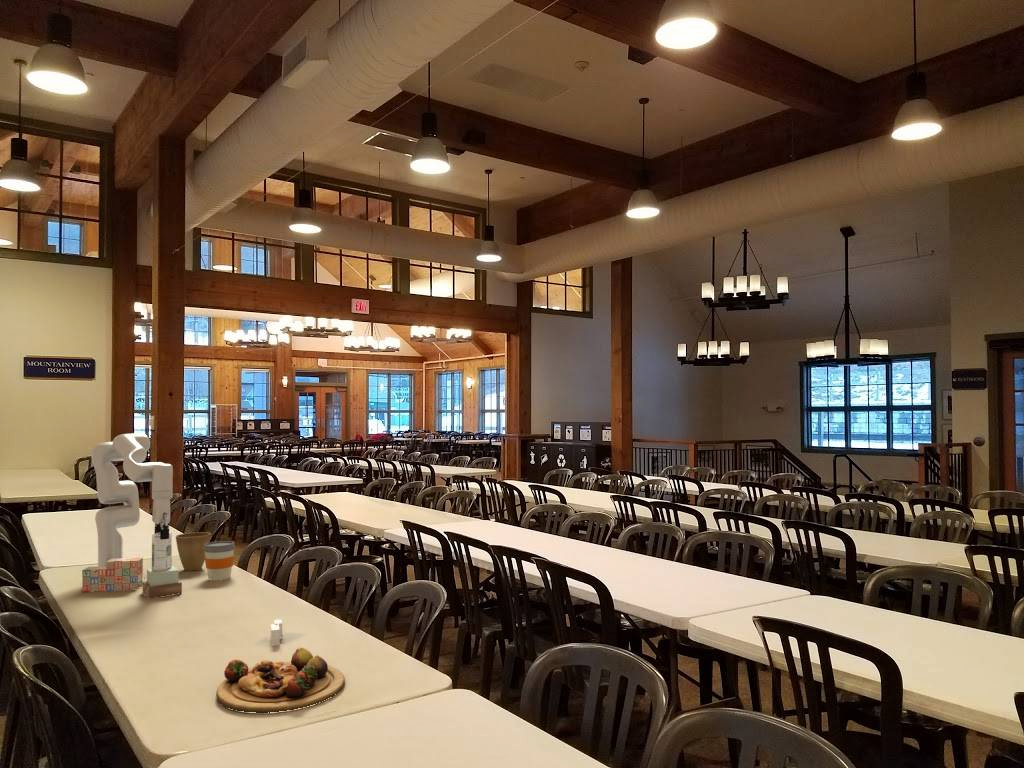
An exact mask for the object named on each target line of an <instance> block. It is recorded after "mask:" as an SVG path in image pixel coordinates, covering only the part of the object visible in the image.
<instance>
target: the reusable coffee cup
mask: <svg viewBox="0 0 1024 768" xmlns="http://www.w3.org/2000/svg"><path fill="white" fill-rule="evenodd" d="M235 545H236V544H235V541H232V540H231V541H230V540H224V541H221V540H220V541H211V542H209V543H207V544H205V547H204V552H205V556H206V557H205V561H204V564H205V568H206V571H207V577H208V578H209V579H211V580H210V581H213V580H218V581H222V580H221V579H225V580H228V579H227V578H229V579H231V577H232V568H233V566H234V561H235V555H234V553H235V552H234V551H235V549H236V547H235ZM209 579H208V580H209Z"/></svg>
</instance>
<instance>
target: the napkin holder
mask: <svg viewBox="0 0 1024 768" xmlns="http://www.w3.org/2000/svg"><path fill="white" fill-rule="evenodd" d="M281 638H282V639H283V621H282V619H274V620H273V623H271V624H270V642H271V646H272V645H274V646H273V647H275V645H278V646H280V640H282V639H281Z"/></svg>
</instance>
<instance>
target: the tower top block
mask: <svg viewBox="0 0 1024 768" xmlns="http://www.w3.org/2000/svg"><path fill="white" fill-rule="evenodd" d="M178 580H179V568H177V567H176V566H175V565H172V567H171V568H169V569H167V570H161V571H152V567H151V568H147V569H146V581H147V582H148V583H149V585H150V586H157V585H165V584H172V583H178Z"/></svg>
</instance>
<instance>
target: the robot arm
mask: <svg viewBox="0 0 1024 768" xmlns="http://www.w3.org/2000/svg"><path fill="white" fill-rule="evenodd" d="M150 448H151V441H150V438H149V437H148V435H146V434H145V433H140V432H139V433H121V434H118V435H117V436H116V435H115V437H114V438H113V440H112V441H103V442H99V443H97V444H95V445H94V446H93V448H92V449H91V463H92V466H93V467H94V470H95V471H94V472H95V475H96V490H97V492H96V493H97V500H98V502H100V504H103V505H111V504H112V505H113V504H120V503H123V505H116V506H107V507H104V508H100V509H99V510H98V511H97V512H96V514H95V518H94V519H95V525H96V531H97V567H98V566H106V562H107V561H109V560H110V559H118V558H119V559H120V558H124V556H123V555H124V554H123V553H124V551H123V550H124V549H123V546H124V545H123V541H124V539H123V536H122V534H121V533H120V532H119V530H118V529H122V528H128V527H134V526H136V525H137V524H138V523H139V521H140V518H141V514H140V513H141V512H140V499H139V497H140V496H139V489H138V486H137V484H136V483H143V482H145V483H146V482H151V499H152V500H153V501H152V513H151V514H152V518H151V521H152V523H154V534H156V533H159V532H160V539H161V540H163V539H169V532H170V525H169V524H170V522H171V499H172V498H173V491H174V490H173V483H174V482H173V481H174V480H173V478H174V477H173V476H174V475H173V474H174V473H173V471H174V469H173V467H174V466H173V465H172V464H170V463H164V462H162V461H157V462H144V461H145V459H146V458H147V455H148V454H147V452H148V451H149V450H150ZM120 461H121V462H122V461H123V463H122V468H123V473H124V474H125V475H126V477H128V479H130V480H119V479H120V477H119V470H118V468H117V467H116V466H115V465H114V464H113V462H120Z"/></svg>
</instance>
